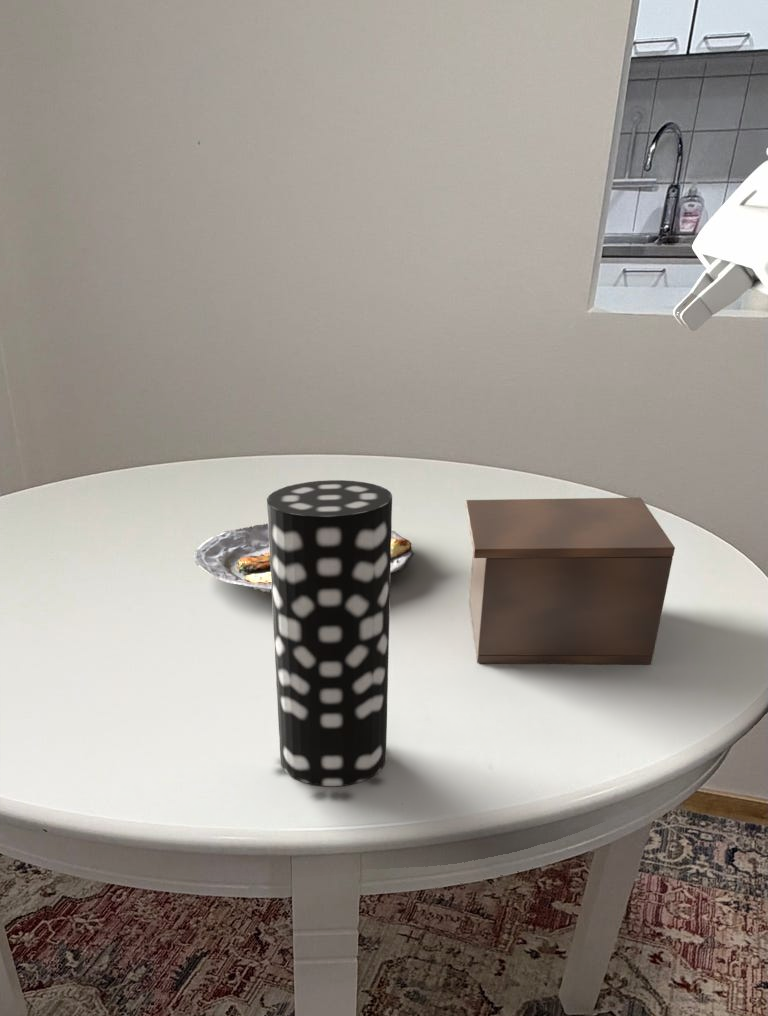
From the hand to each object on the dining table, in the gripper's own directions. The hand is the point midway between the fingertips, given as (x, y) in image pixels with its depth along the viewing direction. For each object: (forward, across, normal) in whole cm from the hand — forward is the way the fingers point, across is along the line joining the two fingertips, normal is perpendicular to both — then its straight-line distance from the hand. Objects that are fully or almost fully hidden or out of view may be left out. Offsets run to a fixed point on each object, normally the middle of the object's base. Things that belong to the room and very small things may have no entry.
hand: (681, 322), depth 76 cm
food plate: (+42, +19, +4) cm, 46 cm away
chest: (+24, +1, -14) cm, 27 cm away
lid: (+17, +1, -7) cm, 18 cm away
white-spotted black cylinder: (+38, -24, +1) cm, 45 cm away
